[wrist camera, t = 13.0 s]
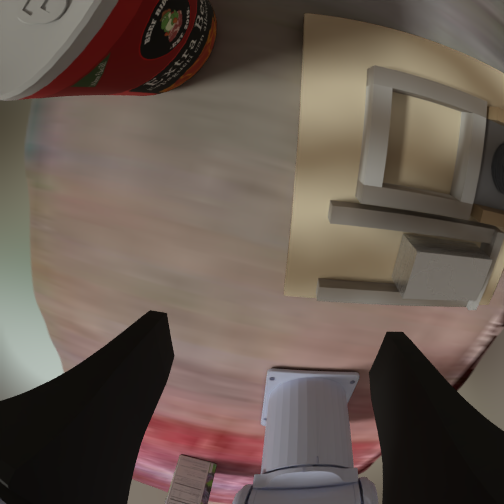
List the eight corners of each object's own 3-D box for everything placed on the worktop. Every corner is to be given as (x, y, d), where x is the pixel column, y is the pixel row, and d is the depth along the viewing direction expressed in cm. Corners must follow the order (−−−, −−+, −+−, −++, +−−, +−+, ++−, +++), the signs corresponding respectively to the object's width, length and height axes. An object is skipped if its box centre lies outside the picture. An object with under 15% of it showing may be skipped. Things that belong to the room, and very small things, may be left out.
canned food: (187, 113, 15) (54, 128, 6) (87, 79, 15) (-53, 88, 5) (244, 3, 12) (186, -113, 2) (133, -20, 11) (21, -78, 1)
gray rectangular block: (461, 281, 17) (476, 300, 15) (391, 277, 17) (402, 298, 15) (474, 243, 16) (492, 260, 13) (402, 233, 16) (417, 251, 14)
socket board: (482, 297, 18) (498, 318, 16) (284, 287, 20) (283, 312, 17) (528, 92, 11) (552, 94, 8) (303, 18, 12) (306, 1, 10)
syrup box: (211, 472, 38) (195, 545, 25) (176, 463, 37) (155, 535, 25) (217, 463, 35) (199, 545, 22) (178, 452, 35) (155, 533, 22)
